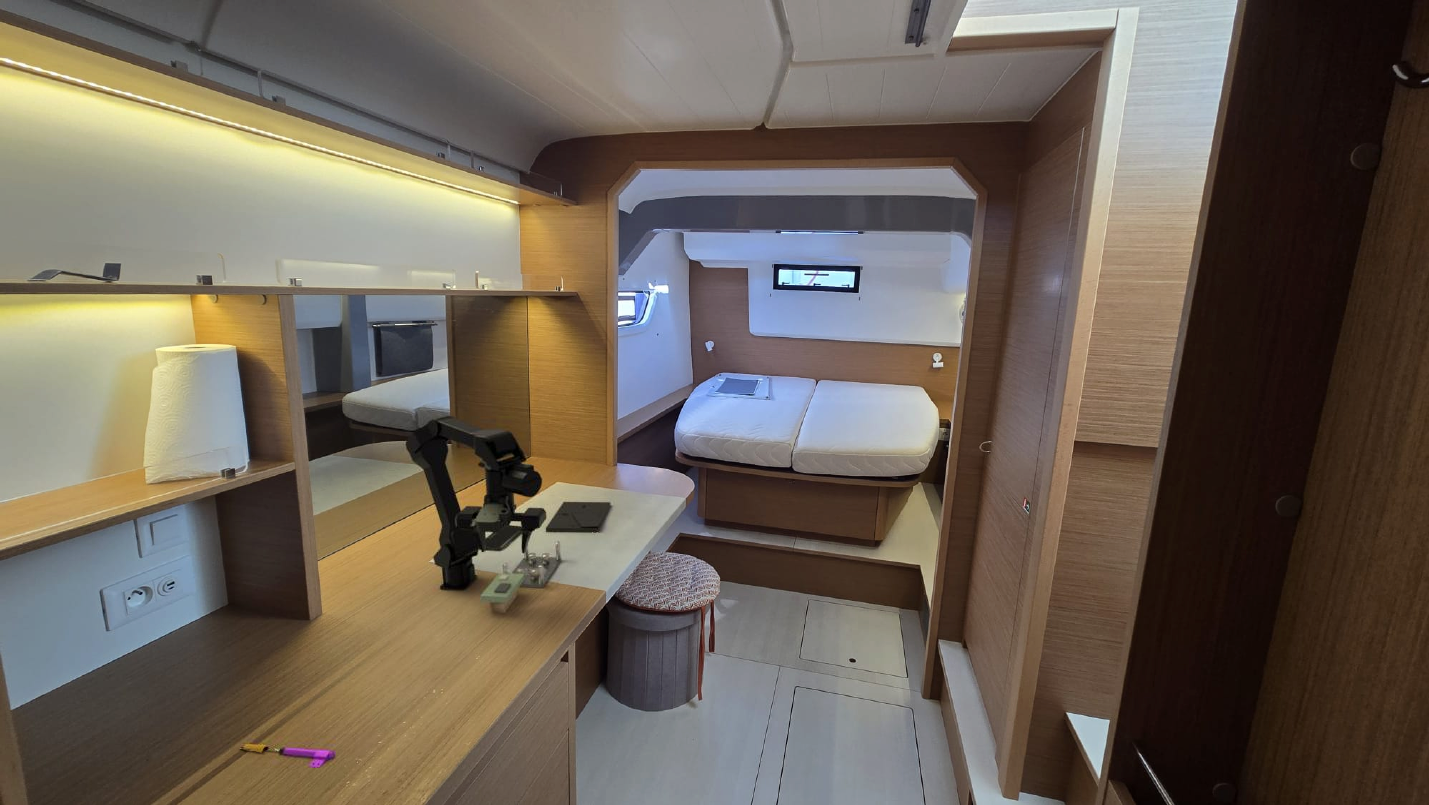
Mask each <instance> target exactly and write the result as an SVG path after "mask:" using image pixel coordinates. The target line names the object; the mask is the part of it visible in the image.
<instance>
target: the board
mask: <svg viewBox="0 0 1429 805" xmlns="http://www.w3.org/2000/svg"><path fill="white" fill-rule="evenodd" d="M524 580H525V579H524V574H511V573H509V574H508V573H503V572H501V573H499V574H497V576H496V577H495V578H494V579H493V580H492V581H491V583H490V584H489V585H488V586H487V588H485V590H484V591H482V594H480V602H485V603H486V602H487V603H491V602H504V603H507V602H508V601H509V600H510V598H511V597H512V596H513V594H514V593H515V592H516V591H518V589H519V588H520V587H519V586H520V585H521V584H522V582H523V581H524Z"/></svg>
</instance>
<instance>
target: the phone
mask: <svg viewBox="0 0 1429 805" xmlns="http://www.w3.org/2000/svg"><path fill="white" fill-rule="evenodd" d="M521 528H522V526H521V525H511V524H510V525H509V526H507V525H505V526H504V527H502V529H501V530H500V531H499V532H497V533H492V532H491V533H490V534H489V535H488V536H487V537H486V549H485V551H488V552H489V551H490V552H501V551H504V550H505V549H506V548H507V547H509V545H511V543H513V542H514V541H515V540H516V539H517V538H518V537H519V536H522V533H521V531H520V530H521ZM479 550H480V551H481V549H480V548H479ZM479 550H478V551H479Z"/></svg>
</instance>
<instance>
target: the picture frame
mask: <svg viewBox="0 0 1429 805" xmlns="http://www.w3.org/2000/svg"><path fill="white" fill-rule="evenodd" d="M610 508H611V502H610V501H608V502H607V501H606V502H605V501H563V502H562V504H561V505H560V507H558V510H557V511H556V512H555V514H554V515H553V517H552V518H551V519H550V521H549V523H547V526H546V527H545V533H573V534H575V533H581V534H583V533H584V534H585V533H590V534H593V533H595V534H598V533H600V530H601V528H602V526H603V523H604V521H605V519H606V517H607V515H608V512H609V510H610ZM592 532H593V533H592ZM597 532H598V533H597Z"/></svg>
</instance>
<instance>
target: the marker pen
mask: <svg viewBox="0 0 1429 805" xmlns="http://www.w3.org/2000/svg"><path fill="white" fill-rule="evenodd" d="M244 745H245V746H244V748H245V749H255V750H256V751H263V752H264V750H263V749H264V748H265V746H267V745H268V744H262V743H261V744H253V743H252V744H251V743H246V744H244ZM274 749H275V751H274V752H278V753H279V754H280V753H283V755H284V754H287V755H286V756H293V757H294V756H295V757H296V756H297V757H304V758H305V757H307V758H313V760H312V761H311V763H309V765H308V767H309V768H319V769H320V768H321V767H322V766H323V765H324V764H325V762H326V761H328V760H331V759H333V758H334V757H335V756H336V752H335V751H334V750H331V749H319V748H318V749H310V748H299V747H291V746H290V747H288V746H287V747H281V748H280V749H276V748H274ZM276 750H277V751H276Z"/></svg>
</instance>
